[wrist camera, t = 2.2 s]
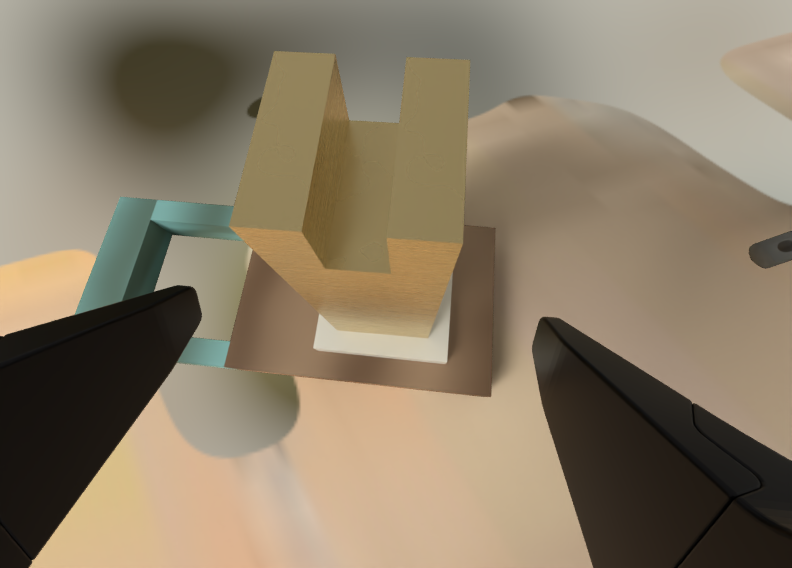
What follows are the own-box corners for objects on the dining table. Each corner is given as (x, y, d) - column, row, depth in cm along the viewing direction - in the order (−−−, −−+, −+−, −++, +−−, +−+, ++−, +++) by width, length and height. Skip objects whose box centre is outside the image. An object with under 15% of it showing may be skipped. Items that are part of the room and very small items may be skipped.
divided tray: (93, 353, 20) (42, 346, 17) (144, 213, 23) (106, 187, 20) (482, 396, 19) (496, 396, 16) (487, 242, 22) (499, 219, 19)
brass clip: (427, 338, 17) (463, 243, 6) (337, 330, 17) (228, 226, 7) (433, 253, 18) (470, 60, 8) (349, 247, 18) (273, 50, 8)
